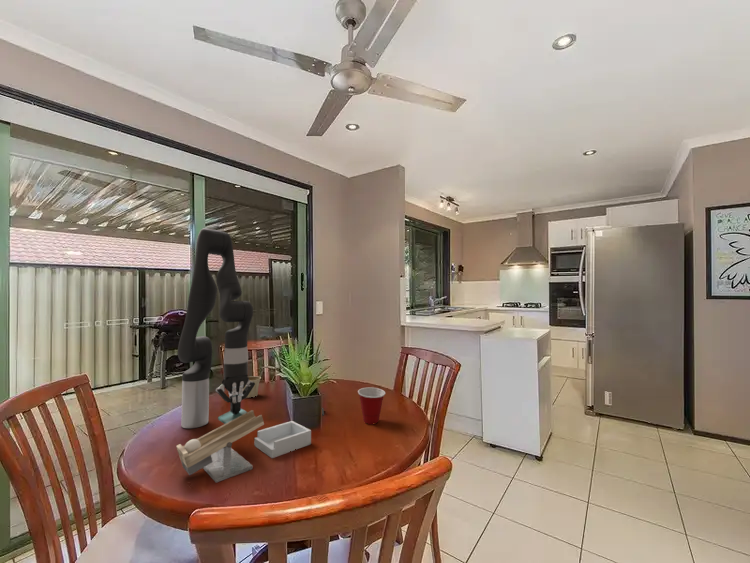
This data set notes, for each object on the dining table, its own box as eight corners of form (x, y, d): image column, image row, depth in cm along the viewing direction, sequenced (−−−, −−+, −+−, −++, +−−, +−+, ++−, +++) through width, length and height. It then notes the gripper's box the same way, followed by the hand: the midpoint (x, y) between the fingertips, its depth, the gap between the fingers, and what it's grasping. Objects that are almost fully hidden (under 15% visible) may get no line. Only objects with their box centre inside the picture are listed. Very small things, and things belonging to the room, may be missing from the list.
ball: (184, 455, 93) (181, 441, 93) (199, 447, 96) (196, 434, 95) (188, 460, 90) (185, 446, 90) (204, 452, 93) (201, 438, 93)
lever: (170, 452, 103) (165, 433, 102) (240, 415, 118) (236, 398, 117) (190, 476, 89) (184, 455, 88) (266, 431, 104) (262, 412, 103)
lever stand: (196, 461, 101) (196, 440, 101) (230, 450, 108) (230, 431, 108) (216, 482, 89) (216, 459, 90) (252, 469, 96) (252, 447, 97)
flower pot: (236, 398, 162) (236, 380, 162) (246, 393, 171) (247, 375, 172) (254, 399, 160) (254, 381, 161) (264, 393, 170) (264, 376, 170)
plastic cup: (370, 429, 124) (370, 396, 125) (352, 421, 132) (352, 390, 133) (391, 422, 132) (391, 391, 132) (373, 415, 140) (373, 385, 140)
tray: (254, 445, 111) (254, 431, 111) (292, 433, 121) (292, 420, 121) (271, 458, 103) (272, 443, 103) (311, 444, 112) (311, 430, 113)
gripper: (250, 356, 120) (249, 406, 119) (211, 362, 111) (210, 415, 110) (260, 359, 115) (259, 411, 114) (219, 365, 105) (218, 421, 105)
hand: (235, 413), depth 112 cm, fingers closed
